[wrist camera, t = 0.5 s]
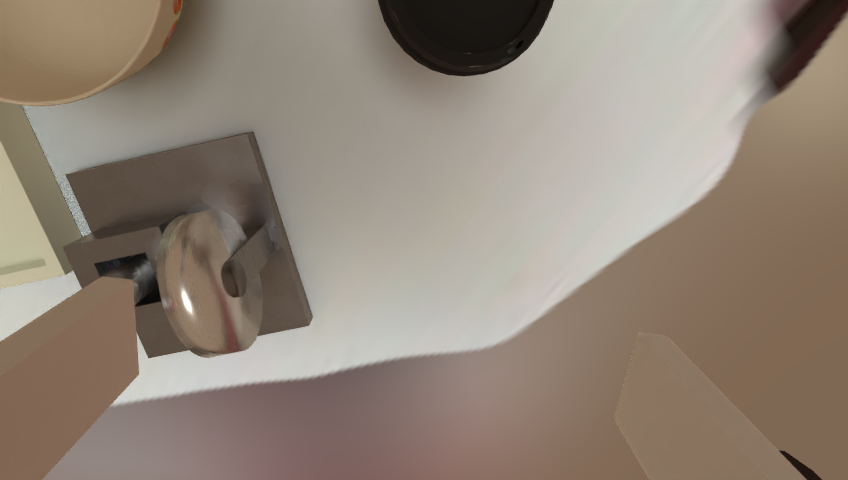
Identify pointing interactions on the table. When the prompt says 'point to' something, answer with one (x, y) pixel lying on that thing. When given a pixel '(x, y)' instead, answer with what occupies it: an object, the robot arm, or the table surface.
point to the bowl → (77, 45)
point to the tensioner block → (194, 245)
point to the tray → (29, 206)
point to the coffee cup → (465, 31)
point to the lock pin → (136, 275)
